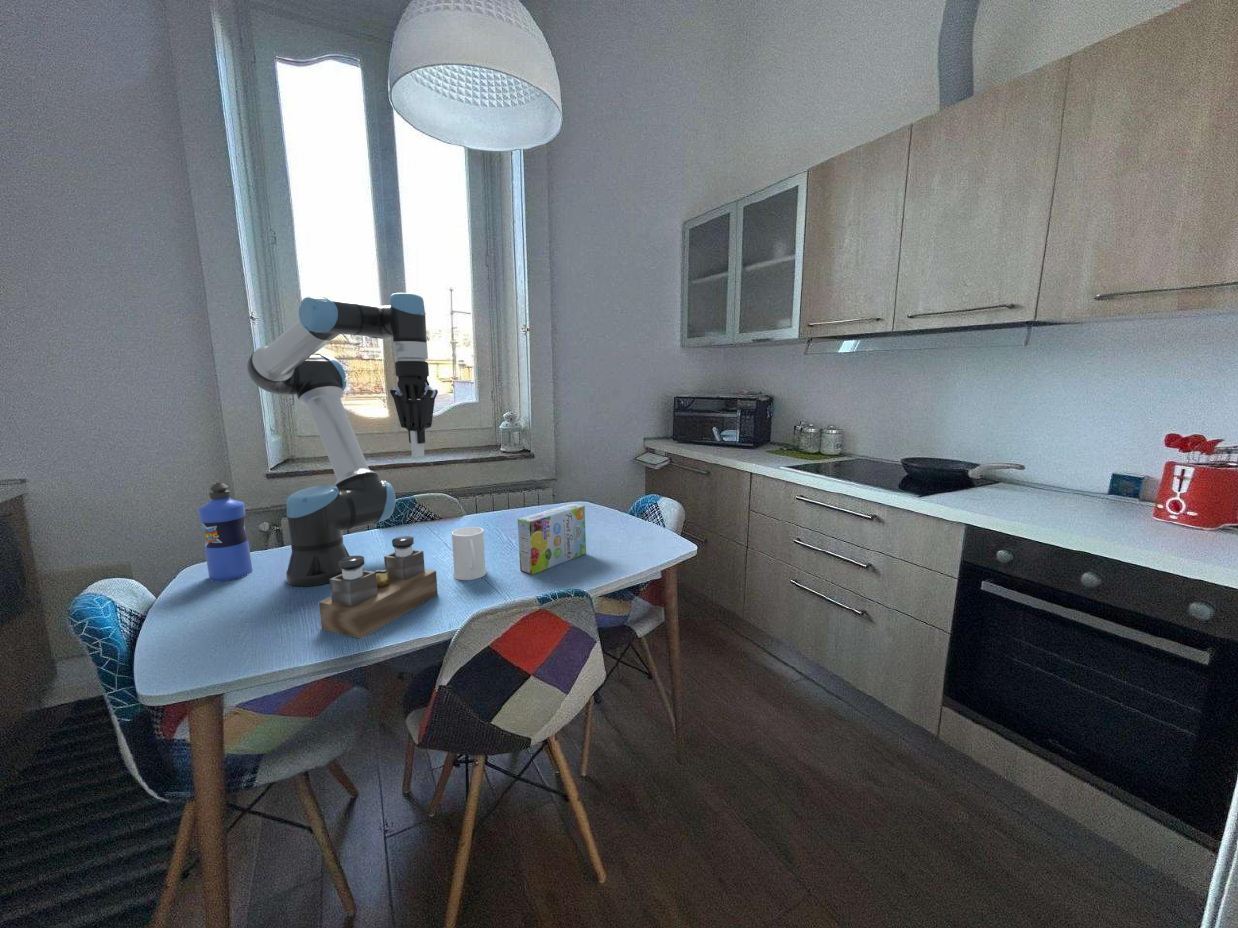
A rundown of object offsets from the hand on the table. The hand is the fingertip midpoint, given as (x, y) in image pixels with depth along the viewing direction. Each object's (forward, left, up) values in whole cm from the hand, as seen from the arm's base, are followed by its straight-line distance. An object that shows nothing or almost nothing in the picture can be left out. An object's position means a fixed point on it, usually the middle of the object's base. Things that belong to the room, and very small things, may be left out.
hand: (418, 456), depth 121 cm
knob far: (+4, -11, -26) cm, 28 cm away
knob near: (+4, -25, -26) cm, 36 cm away
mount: (+4, -18, -32) cm, 37 cm away
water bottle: (-51, -16, -33) cm, 63 cm away
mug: (+10, +5, -33) cm, 34 cm away
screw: (+4, -18, -26) cm, 32 cm away
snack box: (+26, +22, -33) cm, 47 cm away
